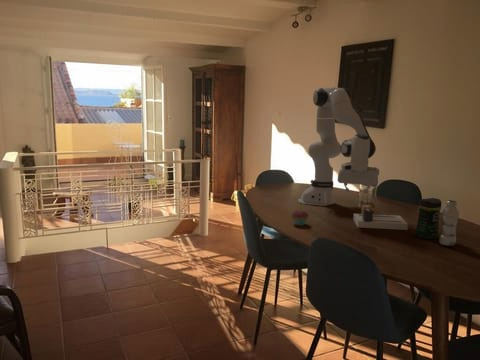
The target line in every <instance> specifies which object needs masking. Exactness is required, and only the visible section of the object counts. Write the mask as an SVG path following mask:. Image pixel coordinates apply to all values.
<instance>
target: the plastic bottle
mask: <svg viewBox="0 0 480 360" xmlns="http://www.w3.org/2000/svg"><path fill="white" fill-rule="evenodd" d="M457 205H458V204H457V201H456V200H452V199H451V200H450V199H449V200H446V207H445V208H444V209H443V210H442V213H441V214H442V216H441V217H442V222H441V223H442V225H441V230H440V231H441V232H440V234H439V236H438V241H439V242H438V243H439V244H440V245H442V246H445V247H453V246H455V245H456V242H457V231H456V229H457V223H458V220H459V216H460V212H459V210H458V208H457Z"/></svg>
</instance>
